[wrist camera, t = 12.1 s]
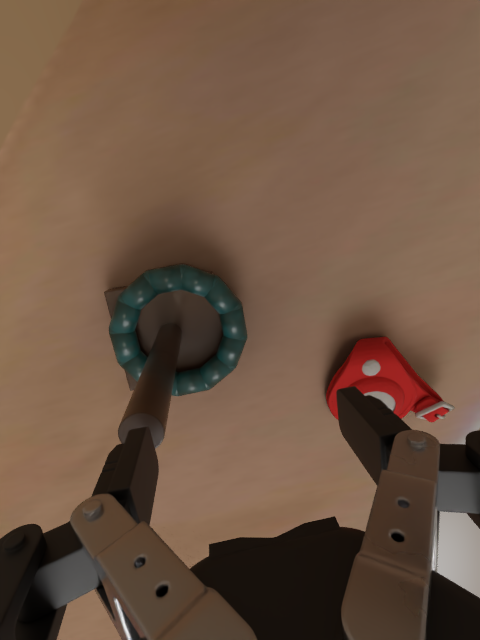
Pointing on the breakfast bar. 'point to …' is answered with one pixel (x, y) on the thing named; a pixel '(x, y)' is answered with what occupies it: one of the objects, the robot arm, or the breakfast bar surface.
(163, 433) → the brown peg stand
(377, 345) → the tracker holder
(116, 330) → the ring
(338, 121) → the breakfast bar surface
